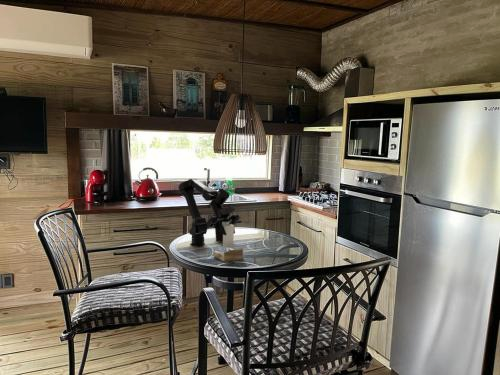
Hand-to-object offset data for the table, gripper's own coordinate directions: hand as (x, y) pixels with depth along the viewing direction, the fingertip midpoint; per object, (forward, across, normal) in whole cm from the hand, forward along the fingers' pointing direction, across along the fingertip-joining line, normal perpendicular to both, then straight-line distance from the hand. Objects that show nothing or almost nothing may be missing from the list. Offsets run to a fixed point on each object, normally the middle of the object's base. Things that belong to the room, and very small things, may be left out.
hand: (230, 234), depth 200 cm
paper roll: (+4, 0, +6) cm, 7 cm away
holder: (+8, 0, +10) cm, 13 cm away
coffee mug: (-12, +16, +30) cm, 36 cm away
